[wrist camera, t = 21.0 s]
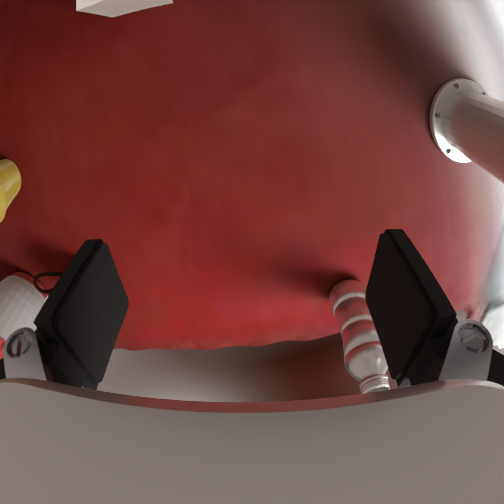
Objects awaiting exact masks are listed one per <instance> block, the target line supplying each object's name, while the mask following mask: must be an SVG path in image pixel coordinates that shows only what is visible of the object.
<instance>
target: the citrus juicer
mask: <svg viewBox="0 0 504 504" xmlns="http://www.w3.org/2000/svg"><path fill="white" fill-rule="evenodd" d="M36 282H37V285H38V286H39V287H40V288H41V289H44V290H45V288H44V286H43V285H41V284H40V283H39V282H38V281H36ZM33 283H34V278H33V277H32V276H30V275H28V274H26V273H23V272H15V273H13V274H11V275H9V276H7V277H6V278H5V279H3V280H2V281H1V282H0V359H1V358H3V347H4V345H5V342H6V340H7V339H8V337H9V336H10V335H11V334H12V333H13V332H14V331H16V330H17V329H20V328H23V327H28V328H31V329H32V330H34V331H35V330H36V328H37V327H36V326H35V324H34V323H33V322H34V320H35V318H36V316H37V315H38V313H39V311H40V309H41V308H42V306H43V304H44V301H45V298H46V297H47V296H48V294H44V293H40V292H39V291H38V290H37V289H36V288H35V286H34V284H33Z"/></svg>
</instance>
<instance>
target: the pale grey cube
mask: <svg viewBox="0 0 504 504" xmlns="http://www.w3.org/2000/svg"><path fill="white" fill-rule="evenodd" d="M171 3H173V0H76V11H81V12H87V13H93V14H98V15H103V16H108V17H116V16H120V15H123V14H127V13H130V12H134V11H138V10H142V9H147V8H151V7H156V6H161V5H166V4H171Z"/></svg>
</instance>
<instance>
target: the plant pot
mask: <svg viewBox="0 0 504 504" xmlns="http://www.w3.org/2000/svg"><path fill="white" fill-rule="evenodd" d="M20 188H21V175H20V172H19V169H18V167H17V166H16V164H15V163H14V162H12V161H11V160H9V159H3V160H0V222H1V221H2V220H3V218H4V216H5V212H6V209H7V208H8V206H9V205H10V203H11V202H12V200H13V199H14V197H15V196H16V195H17V193H18V192H19V190H20Z"/></svg>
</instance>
